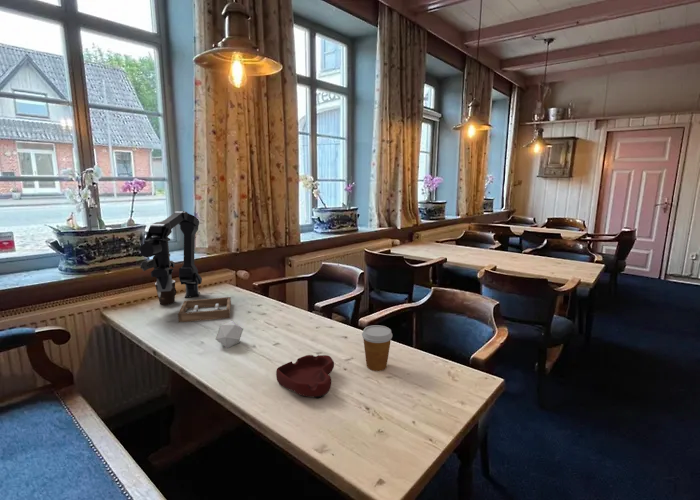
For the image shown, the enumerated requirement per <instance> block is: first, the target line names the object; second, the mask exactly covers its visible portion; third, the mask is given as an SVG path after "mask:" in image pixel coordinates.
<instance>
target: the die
mask: <svg viewBox="0 0 700 500" xmlns="http://www.w3.org/2000/svg"><path fill="white" fill-rule="evenodd" d="M243 330H244V328H243V327H242V326H241V325H239V324H238V323H236V322H235V321H234V320H232V319H231V320H228V321H226V322H223V323H222V324H221V323H220V324H219V327H218V330H217V333H216V336H215V340H216V341H217V342H218V343H220V344H221V345H222V346H224V347H225V348H226V349H229V348H231V347H233V346H235V345H237V344H240V340H241V337H242V334H243V332H244V331H243Z"/></svg>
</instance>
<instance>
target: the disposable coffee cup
mask: <svg viewBox="0 0 700 500" xmlns="http://www.w3.org/2000/svg"><path fill="white" fill-rule="evenodd" d="M361 336H362V337H361V338H362V339H363V340H362V341H363V345H364V355H365V363H366V364H365V365H366V368H367V369H368V370H370V371H372V372H382V371H385V370H386V369H387V367H388V361H389V353H390V349H391V348H390V347H391V342H392V339H393V333H392V329H391V328H389V327H387V326H385V325H379V324H377V325H368V326H366V327H365V328H364V329H363V331H362V332H361Z"/></svg>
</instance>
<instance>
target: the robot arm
mask: <svg viewBox="0 0 700 500" xmlns="http://www.w3.org/2000/svg"><path fill="white" fill-rule="evenodd" d="M178 225H179V228H180V231H181V232H182V234H183V264H182V266H181V267H179V268H178V279H179V282H180V285H181V286H182V285H185V286H184V287H185V295H184V298H199V297H200V294H201V293H200V291H199V285H201V284H202V282H203V278H202V277H201V275H200V274H199V270H198V267H197V266H196V264H195V242H196V240H195V239H196V238H195V236H196V234H197V232H198V230H199V225H200V220H199V219H198V217H197V216H195V215H193V214H190V213H188V211H185V210H176V211H174V213H172V214H171V215H170V216H168V217H167V218H164V219H163V220H162V221H158V222H154V223H151V224H150V225H149V228H148V230H147V233H146V237H145V240H143V244H142V245H141V246H140V249H139V251H140V254H141V256H143V257H145V258H150V259H149V260H148V259H147V260H144V261H142V262H141V263H140V264H139V266H140V269H142V272H145V271H147V270H149V269H153V270H151V271H150V277H151V278H156V279H157V278H158V280H159V282H160V284H161V287H162V289H165V288H166V285H167V282H168V278H169V275H171V276H172V273H173V271H174V269H175V262H174V260H171V253H170V250H169V249H170V248H169V246H170V245H169V242H170V241H171V238H170V237H169V236H170V235H171V233H172V229H174V228H175V227H177V226H178Z"/></svg>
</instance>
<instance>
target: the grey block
mask: <svg viewBox="0 0 700 500" xmlns="http://www.w3.org/2000/svg"><path fill="white" fill-rule="evenodd" d="M172 280H173V279H172V274H171V275H169V278H168V282H167V285H166V288H165V289H162V287H161V284H160V282H159V280H158V278H156V282H157V288H158V292H164V291H171V289H172V288H173V287H172Z"/></svg>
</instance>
